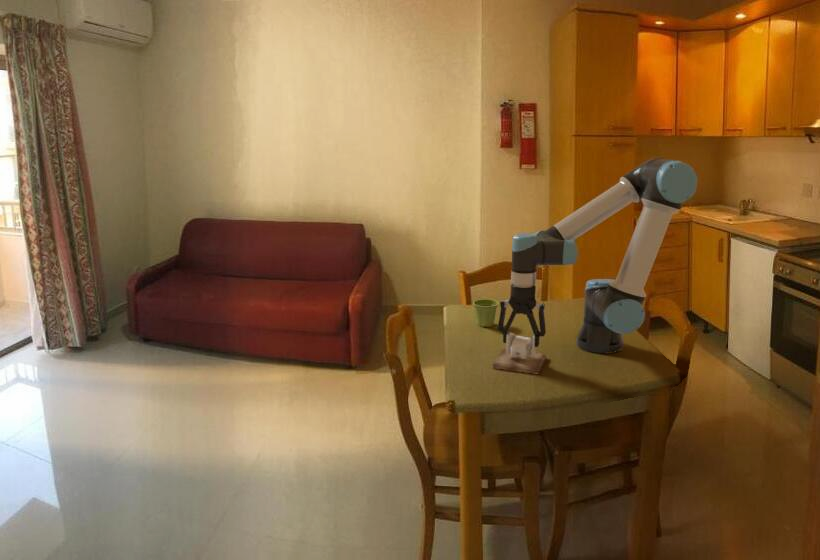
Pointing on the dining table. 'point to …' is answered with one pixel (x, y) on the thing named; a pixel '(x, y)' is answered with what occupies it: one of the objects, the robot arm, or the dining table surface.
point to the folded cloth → (519, 362)
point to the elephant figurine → (520, 345)
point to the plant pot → (485, 311)
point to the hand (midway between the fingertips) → (520, 354)
